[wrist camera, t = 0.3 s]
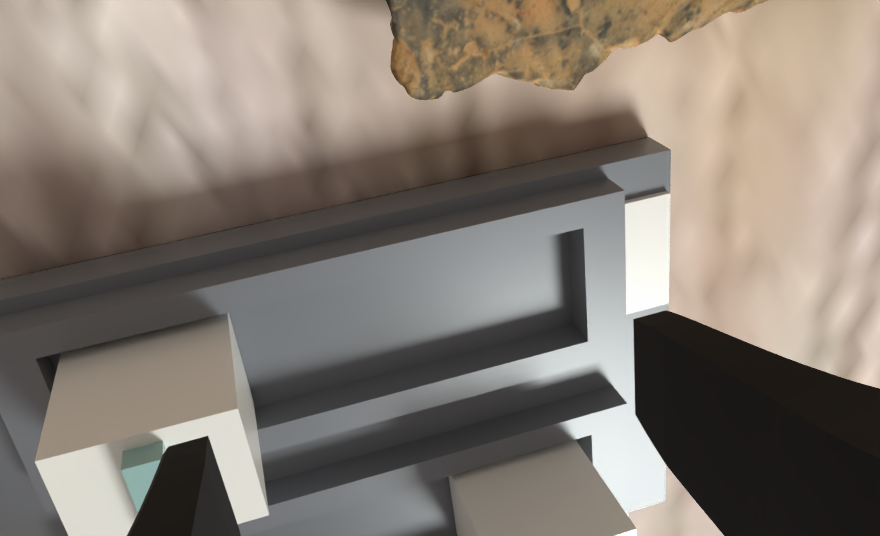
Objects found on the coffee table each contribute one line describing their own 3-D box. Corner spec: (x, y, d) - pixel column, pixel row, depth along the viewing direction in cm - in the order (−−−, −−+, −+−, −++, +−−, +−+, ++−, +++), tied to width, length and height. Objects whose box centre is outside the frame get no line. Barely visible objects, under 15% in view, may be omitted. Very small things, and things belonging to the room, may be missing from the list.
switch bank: (648, 478, 30) (680, 520, 28) (73, 654, 26) (64, 717, 24) (649, 137, 24) (690, 161, 22) (-103, 302, 20) (-133, 349, 18)
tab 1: (253, 401, 22) (271, 534, 18) (101, 440, 22) (80, 589, 17) (226, 306, 21) (239, 425, 16) (62, 345, 20) (29, 481, 16)
